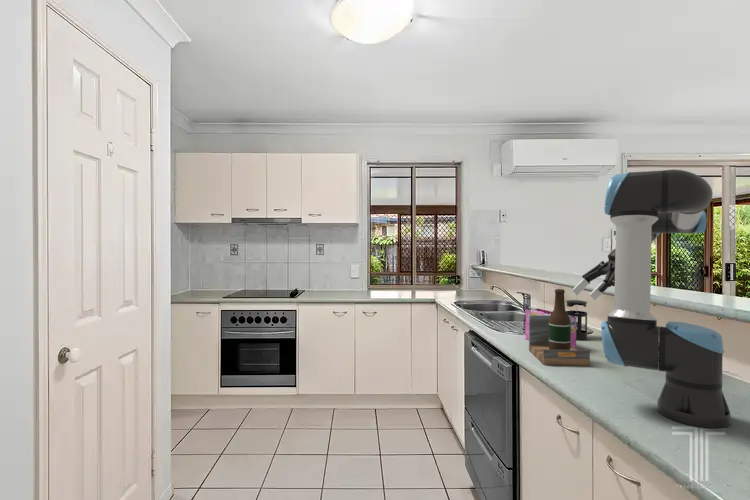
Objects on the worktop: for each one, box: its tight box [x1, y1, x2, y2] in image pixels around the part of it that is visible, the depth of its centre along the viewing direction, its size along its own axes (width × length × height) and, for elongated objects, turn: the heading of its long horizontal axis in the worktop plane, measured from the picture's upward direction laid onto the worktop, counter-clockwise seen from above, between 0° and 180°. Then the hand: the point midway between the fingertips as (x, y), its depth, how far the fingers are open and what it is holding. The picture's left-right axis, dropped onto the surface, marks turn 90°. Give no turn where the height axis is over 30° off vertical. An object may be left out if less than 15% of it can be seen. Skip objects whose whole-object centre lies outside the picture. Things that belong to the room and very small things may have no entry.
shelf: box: [528, 315, 591, 367], centre depth 163 cm, size 20×16×14 cm
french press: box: [565, 287, 588, 342], centre depth 195 cm, size 12×9×23 cm
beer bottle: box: [549, 288, 570, 350], centre depth 161 cm, size 8×8×24 cm
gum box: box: [525, 308, 577, 350], centre depth 185 cm, size 24×8×14 cm, turn 19°
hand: (582, 295), depth 160 cm, fingers open, 13 cm apart
